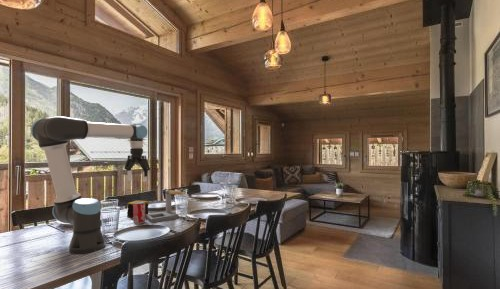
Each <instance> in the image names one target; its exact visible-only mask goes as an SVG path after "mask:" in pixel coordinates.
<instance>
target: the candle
mask: <svg viewBox="0 0 500 289" xmlns="http://www.w3.org/2000/svg"><path fill="white" fill-rule="evenodd" d="M135 202H144V203H145V214H149V201H148V200H134V201H131V202H127V204H126V205H127V212H126V214H127V215H126V218H127V219H129V218H130V219H134V218H133V205H134V203H135Z"/></svg>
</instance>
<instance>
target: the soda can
mask: <svg viewBox="0 0 500 289" xmlns="http://www.w3.org/2000/svg"><path fill="white" fill-rule="evenodd" d="M132 219H133V223H134V224H135V225H141V224H144V223H146V220H147V219H146V218H145V203H144V202H135V203H134V205H133V218H132Z"/></svg>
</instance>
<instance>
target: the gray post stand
mask: <svg viewBox="0 0 500 289" xmlns="http://www.w3.org/2000/svg"><path fill="white" fill-rule="evenodd" d="M145 219H146V220H147V221H149V223H158V222H164V221H169V220H175V219H179V214H178V213H176V212H175V211H173V210H172V194H166V193H165V211H160V212H154V213H153V212H151V213H148V214H145Z"/></svg>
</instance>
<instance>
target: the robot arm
mask: <svg viewBox="0 0 500 289" xmlns="http://www.w3.org/2000/svg"><path fill="white" fill-rule="evenodd" d="M30 134H31V136H32V138H34V139H35V140H36V141H37V143H38V146H39V148H40V149H42V150H43V151H44V155H45V157H46V162H47V166H48V170H49V173H50V177H51V181H52V184H53V188H54V192H55V198H54V200H53V204H54V205H53V207H52V209H51V210H52V212H51V213H52V215H53V217H54V218H55V220H57V221H58V222H60V223H63V224H69V225H72V236H71V240H70V241H69V242H70V243H69V246H68V252H69V253H70V254H75V255H81V254H88V253H89V254H90V253H94V252H95V251H97V252H98V251H99V250H101V249H102V248H104V247H105V246H106V241H105V237H104V235H103V232H102V226H101V225H102V224H101V222H102V221H101V220H102V219H101V217H102V216H101V214H102V212H101V209H102V207H101V202H100V200H99V199H96V198H91V197H90V198H89V197H84V198H82V194H81V193H80V192H78V191H77V189H76V186H75V185H76V184H75V181H74V177H73V172H72V168H71V164H70V159H69V155H68V153H67V152H68V151H67V145H68V143H69V141H72V140H73V141H75V140H86V139H87V138H104V139H105V138H106V139H107V138H110V139H112V138H113V139H118V140H120V139H123V140H125V139H129V145H130V146H129V147H130V155H127V159H126V162H125V165H124V170H125V171H126V176H127V177H126V178H127V180H126V181H127V182H130V181H133V177H132V176H133V173H132V171H133V170H132V168H133V167H134V165H135V164H136V163H137V164H139V166H140V168H141V169H142V182H143V183H146V182H148V172H149V171H150V170H151V167H150V165H149V162H148V160H147V155H143V154H144V149H143V147H144V138H146V137H147V135H148V128H147V127H146V126H145V125H143V124H141V123H130V124H124V123H123V124H122V123H110V122H107V123H106V122H95V121H93V122H92V121H87V120H86V119H82V118H74V117H73V118H72V117H67V116H49V117H47V116H45V117H42V118H39V119H37V120H35V121H34V122H33V123H32V125H31V127H30Z"/></svg>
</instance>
